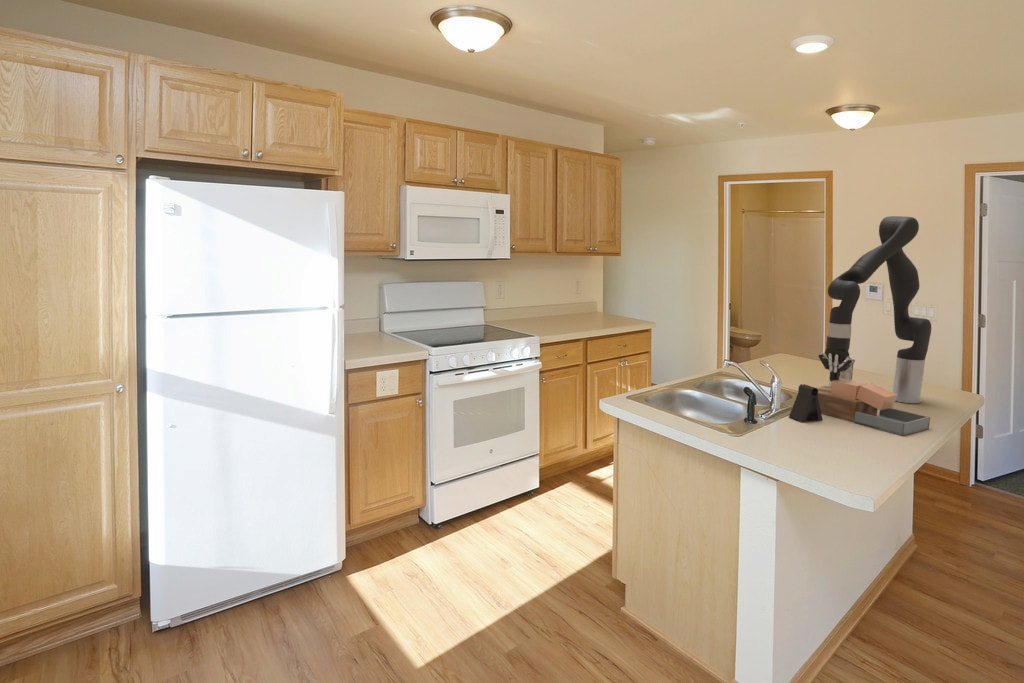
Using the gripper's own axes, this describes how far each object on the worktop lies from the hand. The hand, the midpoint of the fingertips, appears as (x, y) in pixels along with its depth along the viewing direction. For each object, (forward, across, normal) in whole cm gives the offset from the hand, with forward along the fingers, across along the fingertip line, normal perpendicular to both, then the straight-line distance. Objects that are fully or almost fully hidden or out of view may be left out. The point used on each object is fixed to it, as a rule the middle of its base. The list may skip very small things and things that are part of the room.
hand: (833, 381), depth 214 cm
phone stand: (+11, -3, +19) cm, 22 cm away
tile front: (+4, -15, 0) cm, 16 cm away
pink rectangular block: (+4, -6, 0) cm, 7 cm away
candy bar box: (+11, +8, -18) cm, 23 cm away
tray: (+11, -21, 0) cm, 24 cm away
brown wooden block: (+11, -3, 0) cm, 11 cm away
